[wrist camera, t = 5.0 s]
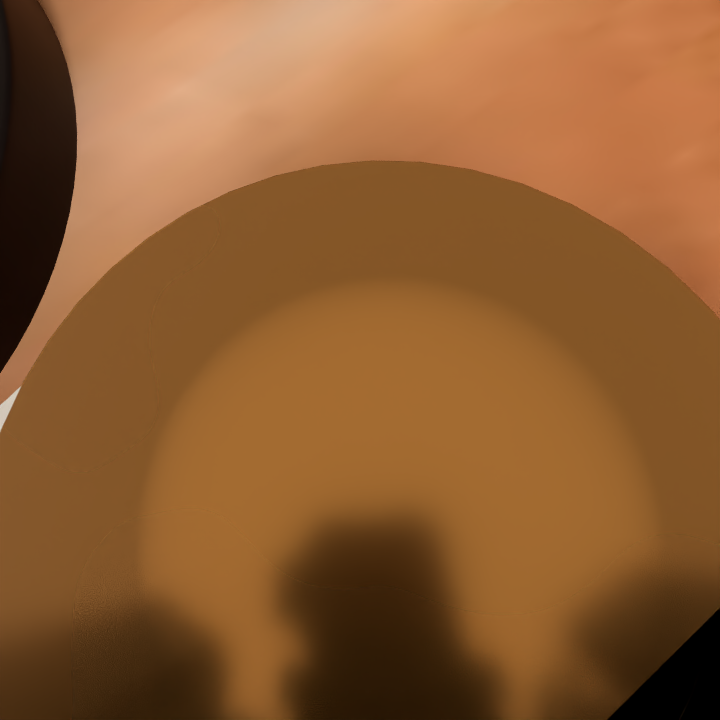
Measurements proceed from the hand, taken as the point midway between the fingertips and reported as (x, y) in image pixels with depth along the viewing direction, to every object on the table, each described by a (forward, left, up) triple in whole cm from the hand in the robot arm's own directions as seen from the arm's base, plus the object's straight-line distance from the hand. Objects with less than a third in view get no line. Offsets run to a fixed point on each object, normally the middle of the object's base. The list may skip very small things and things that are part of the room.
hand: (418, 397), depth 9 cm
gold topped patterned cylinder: (-1, +1, -7) cm, 7 cm away
